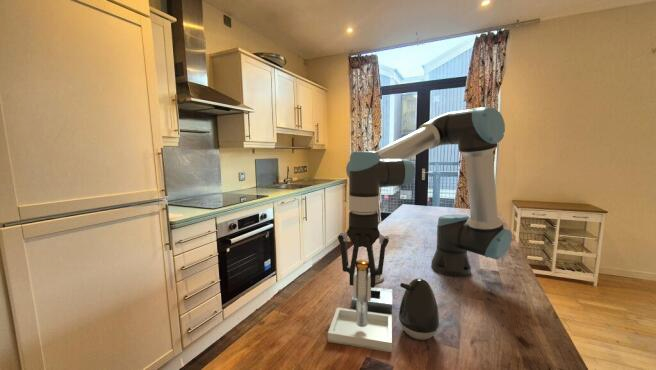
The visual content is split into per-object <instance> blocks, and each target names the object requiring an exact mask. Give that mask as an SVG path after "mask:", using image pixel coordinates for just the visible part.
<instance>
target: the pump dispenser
mask: <svg viewBox="0 0 656 370" xmlns="http://www.w3.org/2000/svg"><path fill="white" fill-rule="evenodd" d="M399 286H400V288H403V289H404V292H403V296H402V299H401V301H400V305H399V306H400V307H399V311H398V320H399V322H400V325H401V327H402V330H403V331H404V333H406V334H407V336H409V337H411V338H412V339H415V340H420V341H421V340H422V341H425V340H428V339H430V338H432V337H433V336H434V335H435V334H436V333H437V329H438V328H439V325H440V317H439V310H438V309H439V308H438V303H437V299H436V297H435V294H434V291H433V289H432V287H431V286H430V284H429V282H428V281H426V280H425V279H423V278H415V279H412V280H411V281H410V282H409V283H408V284H407V283H404V282H400V284H399Z"/></svg>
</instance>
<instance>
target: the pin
mask: <svg viewBox="0 0 656 370" xmlns="http://www.w3.org/2000/svg"><path fill="white" fill-rule="evenodd" d="M355 269H356V271H357V304H356V324H357V325H358V326H360V327H365V326H367V318H368V301H367V285H368V269H369V260H366V259H365V260H364V259H359V260H358V259H357V261H356V267H355Z"/></svg>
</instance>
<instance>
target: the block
mask: <svg viewBox="0 0 656 370" xmlns="http://www.w3.org/2000/svg"><path fill="white" fill-rule="evenodd" d="M350 303H351V304H350V305H351V306H350V307H351V308H350V309H353V310H356V304H357V298H356V299H353V295H352V296H351V302H350ZM368 312H375V313H383V314H391V315H392V316H393V289H391V288H382V287H374V288H371V298H370V301H368Z"/></svg>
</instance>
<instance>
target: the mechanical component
mask: <svg viewBox="0 0 656 370" xmlns="http://www.w3.org/2000/svg"><path fill="white" fill-rule="evenodd" d="M378 265H379V264H378ZM378 265H376V264H375V269H377V268H378ZM368 273H370V268H369V269H368ZM384 280H385V275H384V273H383V272H382V275H376V278H375V284H378V283H381V282H383V281H384Z"/></svg>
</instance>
